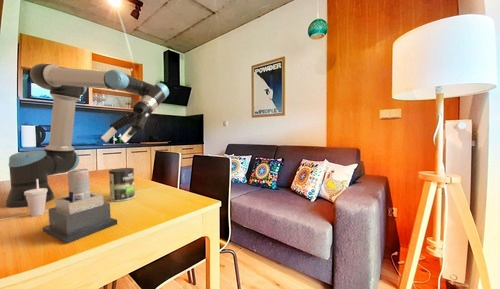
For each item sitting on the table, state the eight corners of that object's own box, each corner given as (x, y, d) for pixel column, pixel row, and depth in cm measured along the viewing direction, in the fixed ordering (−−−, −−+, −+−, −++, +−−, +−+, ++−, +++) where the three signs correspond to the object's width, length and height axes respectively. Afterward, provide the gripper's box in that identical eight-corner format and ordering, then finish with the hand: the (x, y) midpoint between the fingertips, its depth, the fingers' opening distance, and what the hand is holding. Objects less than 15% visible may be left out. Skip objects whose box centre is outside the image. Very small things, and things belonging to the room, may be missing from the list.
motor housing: (43, 231, 66) (40, 199, 65) (92, 215, 78) (91, 188, 77) (66, 243, 58) (64, 207, 58) (117, 224, 71) (115, 194, 70)
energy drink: (78, 203, 70) (75, 168, 70) (94, 202, 71) (92, 168, 70) (65, 209, 65) (62, 171, 64) (83, 208, 65) (80, 171, 65)
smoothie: (53, 212, 82) (50, 178, 81) (31, 219, 76) (28, 181, 75) (43, 210, 84) (40, 177, 83) (21, 216, 78) (19, 180, 77)
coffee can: (139, 195, 103) (138, 167, 102) (123, 202, 93) (121, 171, 92) (122, 194, 105) (121, 167, 104) (104, 201, 95) (103, 171, 94)
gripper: (168, 112, 93) (138, 147, 80) (134, 114, 104) (103, 145, 92) (158, 98, 88) (124, 133, 75) (123, 102, 99) (89, 133, 87)
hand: (112, 140), depth 84 cm, fingers open, 13 cm apart
